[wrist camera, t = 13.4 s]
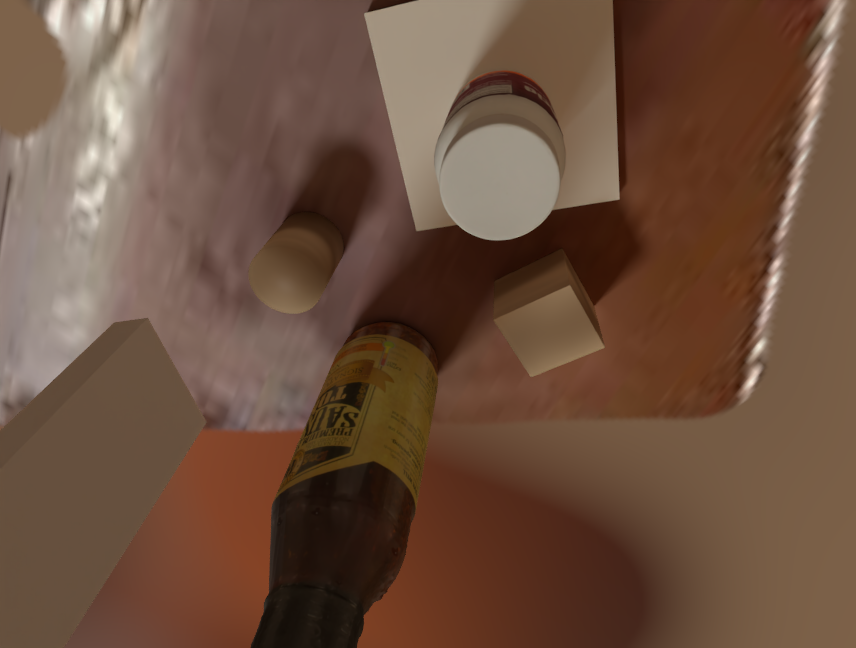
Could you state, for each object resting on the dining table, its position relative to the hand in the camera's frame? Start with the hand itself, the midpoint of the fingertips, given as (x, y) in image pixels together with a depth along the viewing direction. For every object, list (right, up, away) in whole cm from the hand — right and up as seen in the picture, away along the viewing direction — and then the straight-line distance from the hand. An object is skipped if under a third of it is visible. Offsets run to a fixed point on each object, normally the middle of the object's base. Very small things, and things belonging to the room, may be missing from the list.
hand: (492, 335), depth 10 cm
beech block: (+5, +2, +20) cm, 21 cm away
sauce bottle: (-4, -2, +24) cm, 25 cm away
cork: (-8, +5, +20) cm, 22 cm away
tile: (+2, +10, +15) cm, 19 cm away
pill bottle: (+2, +9, +15) cm, 18 cm away
